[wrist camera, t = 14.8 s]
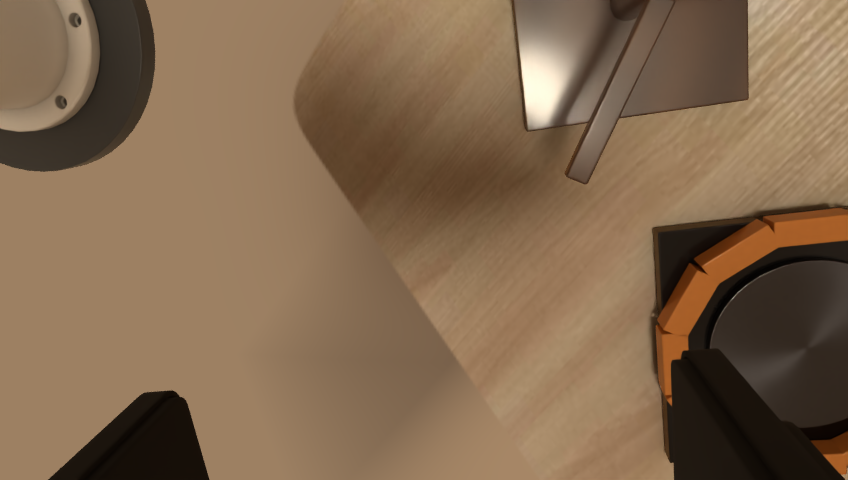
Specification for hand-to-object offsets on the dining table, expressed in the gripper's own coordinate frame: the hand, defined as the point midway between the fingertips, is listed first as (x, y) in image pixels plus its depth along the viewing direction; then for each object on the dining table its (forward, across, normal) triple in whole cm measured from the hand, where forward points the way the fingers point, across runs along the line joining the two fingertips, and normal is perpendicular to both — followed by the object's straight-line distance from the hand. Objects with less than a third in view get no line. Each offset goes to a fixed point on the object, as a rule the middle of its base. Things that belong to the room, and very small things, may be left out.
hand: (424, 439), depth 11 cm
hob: (+25, -19, +12) cm, 34 cm away
